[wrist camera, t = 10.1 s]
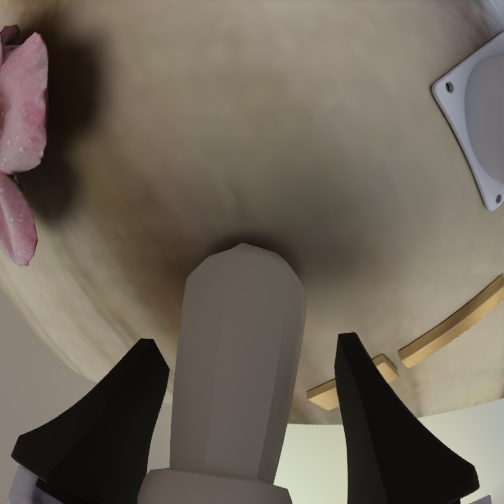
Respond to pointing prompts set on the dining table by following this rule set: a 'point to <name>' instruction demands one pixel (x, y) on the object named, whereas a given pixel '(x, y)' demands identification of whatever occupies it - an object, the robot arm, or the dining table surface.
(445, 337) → the spatula
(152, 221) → the dining table surface
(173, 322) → the dining table surface
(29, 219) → the flower
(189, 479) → the salt shaker
